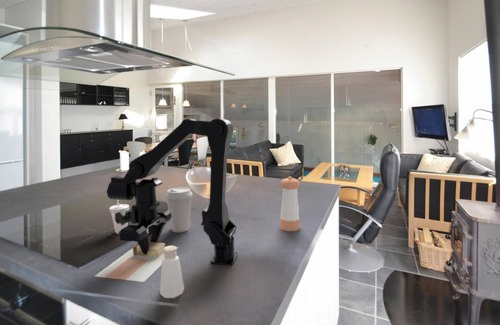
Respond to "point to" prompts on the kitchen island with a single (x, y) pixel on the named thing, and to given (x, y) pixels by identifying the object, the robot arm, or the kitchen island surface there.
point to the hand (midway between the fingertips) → (149, 250)
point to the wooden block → (150, 249)
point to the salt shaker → (290, 205)
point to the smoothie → (114, 210)
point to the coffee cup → (179, 208)
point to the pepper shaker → (171, 274)
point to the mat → (132, 267)
